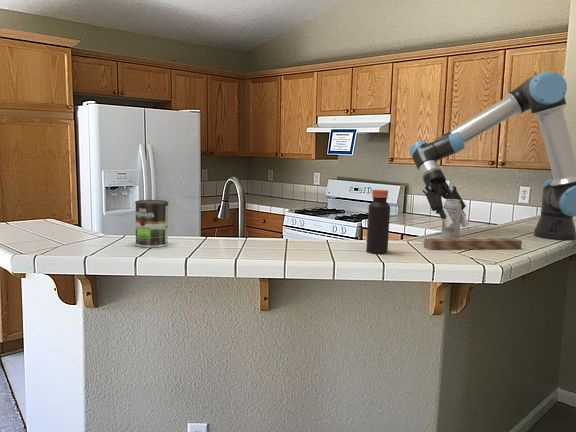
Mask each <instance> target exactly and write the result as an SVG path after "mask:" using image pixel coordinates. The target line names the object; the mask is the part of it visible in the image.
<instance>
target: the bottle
mask: <svg viewBox="0 0 576 432" xmlns="http://www.w3.org/2000/svg"><path fill="white" fill-rule="evenodd" d="M388 195H389V190H387V189H372V193H371V196H372V201H371V203H370V204H369V205H368V213H367V214H368V215H367V231H366V232H367V233H366V249H365V250H366V252H367V253H369V254H374V255H375V254H376V255H384V254H385V255H386V254H388V253H389V252H388V249H389V231H390V217H391V214H390V213H391V205H390V204H389V203H388V202H387V200H388V199H389V198H388V197H389V196H388Z"/></svg>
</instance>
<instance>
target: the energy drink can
mask: <svg viewBox="0 0 576 432" xmlns="http://www.w3.org/2000/svg"><path fill="white" fill-rule="evenodd" d="M461 206H462V205H461V203H460V200H457V199H445V202H444V203H443V209H444V208H446V210H447V212H448V214H449V216H450V218H451V220H452V222H453V224H452V225H451V226H450V227H449V228H447V226H446V224H445V222H444V220H443V219H442V224H441V226H442V227H441V236H440V237H441V238H460V228H461V223H460V219H461Z"/></svg>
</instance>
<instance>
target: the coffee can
mask: <svg viewBox="0 0 576 432" xmlns="http://www.w3.org/2000/svg"><path fill="white" fill-rule="evenodd" d="M134 203H135V246H136V247H138V248H147V249H149V248H151V249H152V248H153V249H154V248H155V249H156V248H163V247H167V246H168V244H169V242H168V241H169V201H167V200H162V199H139V200H136V201H135V202H134Z"/></svg>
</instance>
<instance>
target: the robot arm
mask: <svg viewBox="0 0 576 432" xmlns="http://www.w3.org/2000/svg"><path fill="white" fill-rule="evenodd" d="M567 89H568V85H567V82H566V79H565V78H564V77H563V76H562V75H561V74H559V73H557V72H556V71H544V72H540V73H538V74H536V75H534V76H531V77H529V78H528V79H526V80H525V81H523V82H522V83H521V84H519V85H518V86H517V87H516V88H514V89H513V90H511V91H509V92H508V93H507V94H506V96H505V97H504V98H503V99H501V100H499V101H498V102H496V103H494V104H493V105H491V106H489V107H488V108H486V109H484V110H482V111H481V112H480V113H478V114H476V115H474V116H473V117H471V118H469V119H467V120H466V121H464V122H462V123H461V124H459V125H457V126H456V127H455V128H452V129H451V130H449V131H448V132H446V133H444V134H443V135H441V136H438V137H436V138H435V139H434V140H433V141H432V142H429V143H428V142H427V141H426V140H423V139H421V140H417V141H415V142H413V143H412V144H411V146H410V147H409V153H410V156H411V159H412V161H413V162H414V165H415V166H416V169H417V171H418V172H419V174H420V176H421V178H422V180H423V183H424V185H425V186H424V188H423V189H422V192H423V194H425V197H426V199H427V201H428V204H429V206H430V208H431V211H432V212H435V214H437V215H438V214H439V217H440V219H441V220H442V221H443V220H444V222H445V224H446V226H447V228H449V227H450V226H451V225H452V224H453V222H452V220H451V218H450V216H449V214H448V212H447V210H446V208H444V203H443V200H442V198H443V199H444V200H446V199H457V200H460V203H461V205H462V206H461V219H460V226H461V227H462V228H466V226H467V225H468V224H469V220H468V219H467V217H466V216H467V215H466V214H465V211H464V209H465V208H466V206H467V205H466V203H465V202H464V200H463V199H462V197H461V195H460V194H459V192H458V190H457V187H456V185H452V186H450V185H449V184H448V183H447V180H446V179H447V178H446V176H445V173H444V172H443V171H442V168H441V166H440V164H439V163H438V161H440V160H442V159H445V158H447V157H450V156H452V155H455V154H458V153H459V152H461V151H463V150H464V149H465V147H466V145H465V144H466V143H467V144H468V142H470V141H472V140H473V139H476V138H477V137H478V136H480V135H483V134H484V133H485V132H488V131H489V130H491V129H492V128H494V127H496V126H498V125H499V124H501V123H504V122H505V121H506V120H508V119H510V118H511V117H512V116H516V115H521V114H523V113H525V112H526V111H530V110H531V111H530V112H531V114H532V115H533V116H534V117H536V118H537V120H538V123H539V127H540V128H539V129H540V132H541V136H542V140H543V144H544V147H545V150H546V154H547V158H548V161H549V166H550V170H551V174H552V178H553V179H550V178H549V179H546V180H545V181H544V182H543V186H542V197H541V198H542V199H541V207H540V208H541V209H540V216H539V219H538V221H537V224H536V225H535V226H536V227H535V228H534V230H533V231H534V232H533V235H534V236H536V237H539V238H543V239H549V240H561V241H562V240H563V241H565V240H566V241H573V240H576V228H575V224H574V223H575V222H574V217H576V156H575V155H576V154H575V150H574V147H573V143H572V140H571V136H570V132H569V127H568V124H567V120H566V116H565V112H564V109H565V108H566V106H567V101H566V97H565V95H566V93H567Z"/></svg>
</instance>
